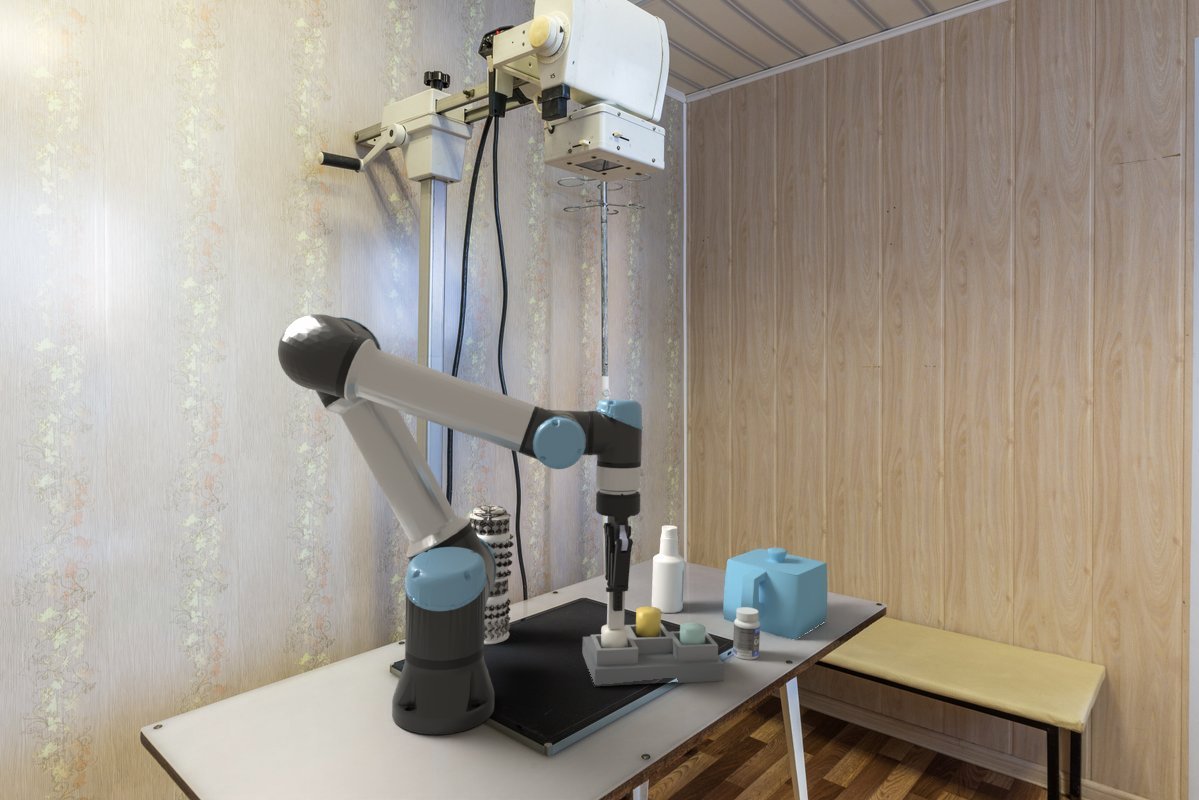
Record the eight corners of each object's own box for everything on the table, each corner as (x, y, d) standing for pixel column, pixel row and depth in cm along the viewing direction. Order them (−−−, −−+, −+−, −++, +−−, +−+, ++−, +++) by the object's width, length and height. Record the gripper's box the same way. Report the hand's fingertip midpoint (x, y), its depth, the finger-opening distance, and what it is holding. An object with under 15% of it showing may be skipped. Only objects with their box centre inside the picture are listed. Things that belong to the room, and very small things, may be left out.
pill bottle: (759, 661, 130) (760, 615, 129) (732, 658, 131) (734, 613, 130) (758, 651, 134) (760, 607, 134) (733, 648, 135) (734, 605, 135)
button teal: (683, 655, 123) (684, 632, 123) (676, 645, 127) (677, 623, 127) (708, 654, 124) (709, 631, 123) (700, 644, 128) (701, 622, 128)
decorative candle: (521, 634, 139) (524, 507, 138) (487, 649, 132) (490, 514, 130) (487, 623, 145) (490, 500, 143) (453, 636, 137) (455, 507, 136)
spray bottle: (687, 607, 158) (690, 526, 157) (674, 616, 152) (676, 532, 151) (660, 601, 161) (663, 522, 160) (645, 609, 156) (648, 527, 155)
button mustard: (638, 637, 125) (639, 615, 125) (633, 628, 130) (634, 606, 130) (663, 636, 126) (663, 614, 126) (656, 627, 130) (657, 606, 130)
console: (594, 687, 117) (595, 654, 117) (582, 652, 131) (583, 623, 131) (722, 680, 121) (724, 648, 121) (697, 648, 135) (698, 619, 135)
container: (709, 624, 148) (712, 550, 147) (769, 597, 167) (771, 531, 166) (785, 648, 137) (788, 568, 136) (839, 616, 155) (843, 546, 154)
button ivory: (603, 657, 120) (603, 633, 120) (598, 646, 125) (599, 624, 124) (628, 656, 121) (629, 632, 121) (623, 645, 125) (624, 623, 125)
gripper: (649, 497, 116) (645, 640, 117) (631, 483, 129) (628, 612, 130) (603, 497, 114) (600, 642, 116) (590, 484, 127) (588, 614, 128)
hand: (615, 626), depth 123 cm, fingers closed
